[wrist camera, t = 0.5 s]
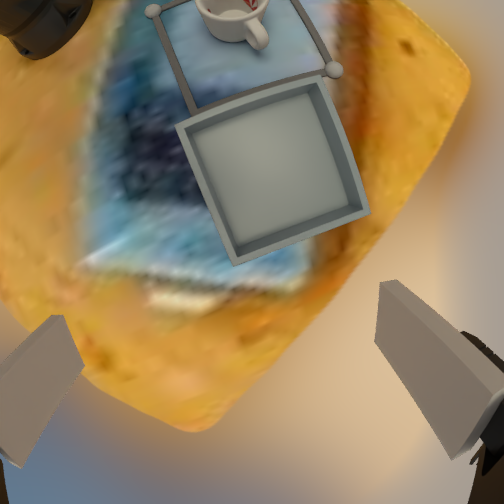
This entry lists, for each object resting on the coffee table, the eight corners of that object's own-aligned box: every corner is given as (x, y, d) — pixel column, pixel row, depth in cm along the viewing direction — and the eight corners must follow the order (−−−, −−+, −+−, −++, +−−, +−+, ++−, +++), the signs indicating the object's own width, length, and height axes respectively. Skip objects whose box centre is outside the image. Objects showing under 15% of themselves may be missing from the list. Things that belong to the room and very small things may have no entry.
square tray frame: (145, 13, 26) (140, 6, 24) (281, -28, 25) (282, -36, 22) (190, 127, 32) (186, 124, 29) (342, 78, 30) (348, 73, 28)
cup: (288, 48, 29) (299, 20, 21) (235, 74, 30) (232, 49, 22) (243, -3, 26) (244, -35, 18) (192, 21, 27) (182, -9, 19)
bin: (184, 131, 31) (174, 125, 26) (309, 87, 30) (320, 74, 25) (234, 253, 36) (233, 266, 31) (354, 207, 35) (371, 213, 30)
